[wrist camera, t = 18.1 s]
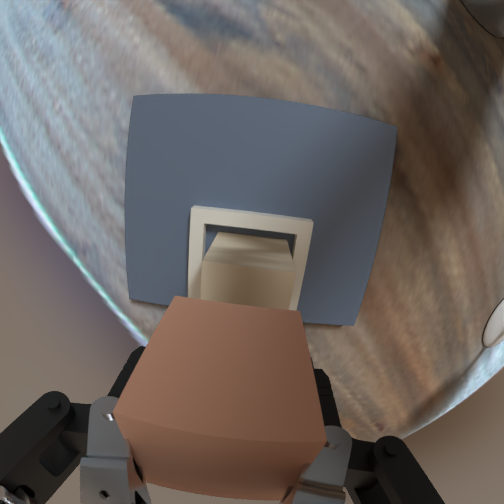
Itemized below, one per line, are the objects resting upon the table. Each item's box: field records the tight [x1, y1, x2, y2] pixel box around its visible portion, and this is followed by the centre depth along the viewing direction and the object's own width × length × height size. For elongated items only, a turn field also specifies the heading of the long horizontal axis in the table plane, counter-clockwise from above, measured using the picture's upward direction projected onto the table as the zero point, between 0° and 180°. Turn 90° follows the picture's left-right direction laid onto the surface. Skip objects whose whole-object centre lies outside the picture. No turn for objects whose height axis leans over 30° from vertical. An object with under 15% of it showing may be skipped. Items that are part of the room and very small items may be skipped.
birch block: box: [200, 231, 296, 310], centre depth 18 cm, size 5×5×6 cm
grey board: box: [125, 94, 397, 326], centre depth 20 cm, size 20×17×2 cm
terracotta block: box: [113, 296, 327, 500], centre depth 9 cm, size 5×5×6 cm
